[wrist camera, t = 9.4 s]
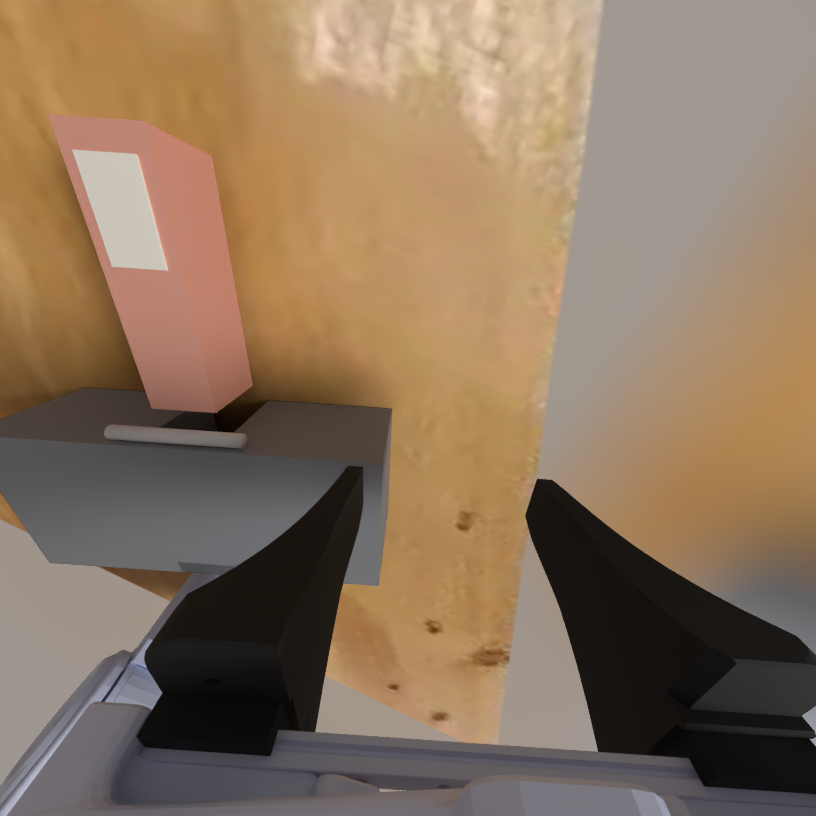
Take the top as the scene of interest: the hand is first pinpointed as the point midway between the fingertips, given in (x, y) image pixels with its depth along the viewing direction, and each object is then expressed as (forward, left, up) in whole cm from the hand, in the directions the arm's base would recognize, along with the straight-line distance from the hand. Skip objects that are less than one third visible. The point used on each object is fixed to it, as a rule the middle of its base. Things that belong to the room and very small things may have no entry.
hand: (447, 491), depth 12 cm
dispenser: (-6, +14, -9) cm, 18 cm away
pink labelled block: (+7, +14, -8) cm, 18 cm away
